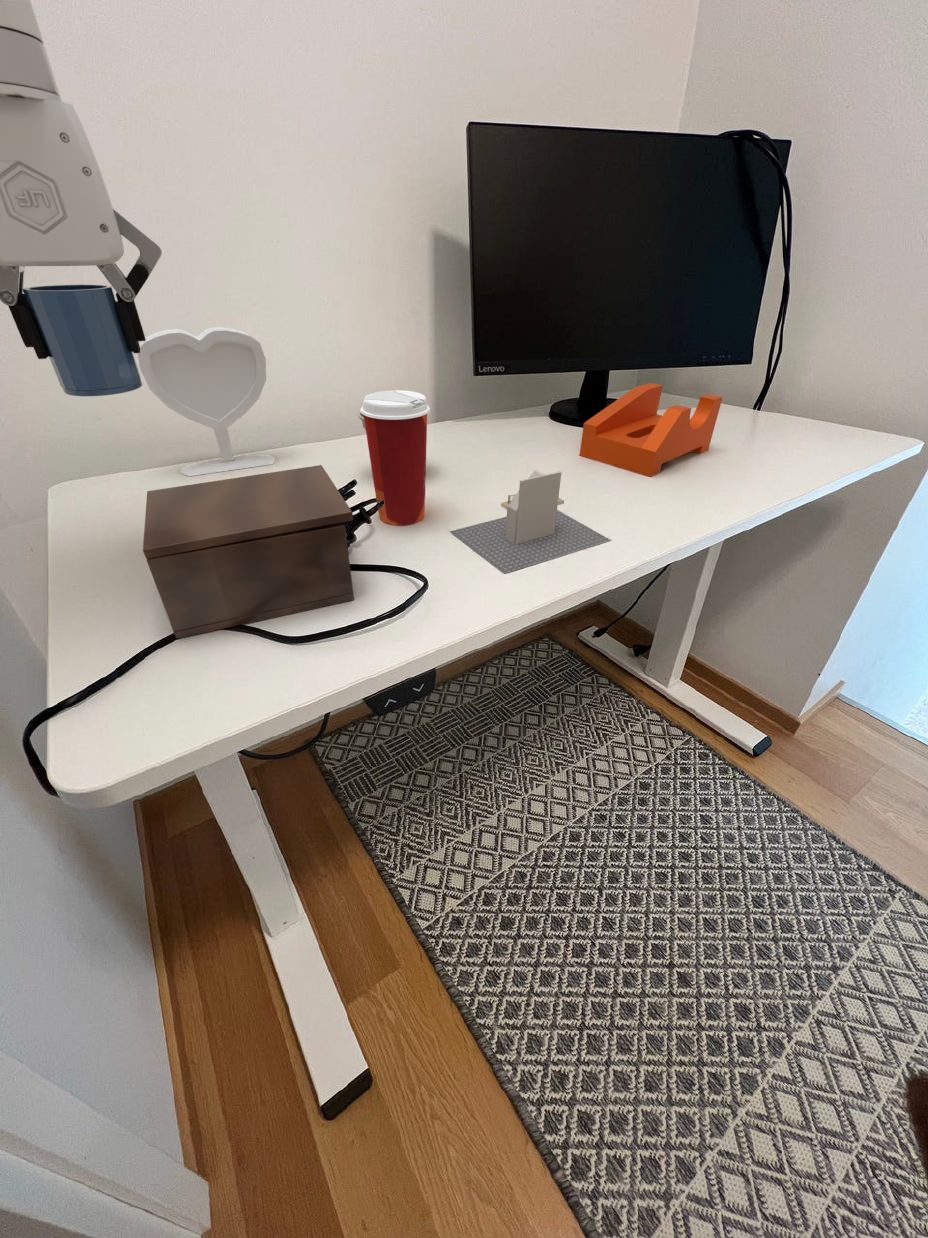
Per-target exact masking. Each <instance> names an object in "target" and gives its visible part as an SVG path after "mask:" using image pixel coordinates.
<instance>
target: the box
mask: <svg viewBox="0 0 928 1238" xmlns="http://www.w3.org/2000/svg"><path fill="white" fill-rule="evenodd" d="M348 548H349V547H348V539H347V532H346V525H345V524H344V522H340V523H335V524H329V525H324V526H319V527H313V528H308V529H303V530H297V531H292V532H287V533H281V534H276V535H271V536H265V537H260V538H255V539H249V540H244V541H239V542H233V543H228V544H223V545H217V546H212V547H207V548H201V549H196V550H191V551H186V552H180V553H175V554H170V555H164V556H159V557H154V558H148V559H146V562H147V565H148V568H149V571H150V573H151V576H152V578H153V581H154V584H155V587H156V589H157V591H158V594H159V598H160V601H161V602H162V605H163V608H164V611H165V612H166V615H167V618H168V621H169V624H170V626H171V629H172V631H173V634H174V637H175V639H176V640H178V639H183V638H187V637H191V636H196V635H201V634H205V633H211V632H215V631H219V630H224V629H228V628H233V627H237V626H243V625H246V624H250V623H251V624H252V623H255V622H260V621H265V620H269V619H273V618H278V617H282V616H288V615H291V614H296V613H301V612H305V611H311V610H315V609H319V608H324V607H328V606H333V605H338V604H342V603H347V602H352V601H354V600H355V595H354V587H353V586H354V585H353V578H352V571H351V564H350V563H351V562H350V555H349V549H348Z"/></svg>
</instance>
